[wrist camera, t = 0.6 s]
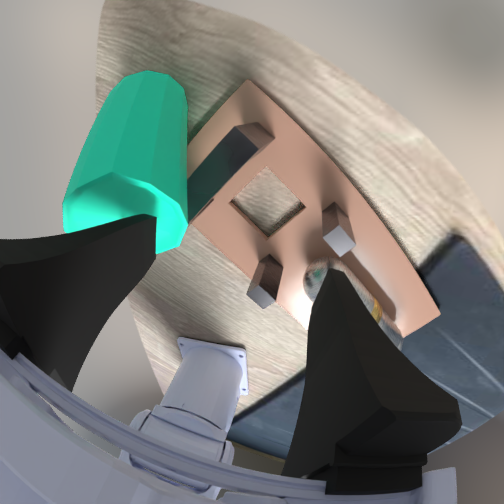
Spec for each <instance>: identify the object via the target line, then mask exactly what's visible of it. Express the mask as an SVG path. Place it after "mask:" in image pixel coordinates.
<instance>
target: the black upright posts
mask: <svg viewBox="0 0 504 504" xmlns="http://www.w3.org/2000/svg"><path fill="white" fill-rule="evenodd" d="M274 139H275V137H274V136H272V135H271V134H270V133H269V132H268V131H267V130H266V129H265V128H264V127H263V126H262V125H261V124H260V123H259V122H254V123H248V124H243V125H237V126H234V127H233V128H232V129H231V130H230V131H229V132H228V134H227V135H226V136H225V137H224V138H223V139H222V140H221V141H220V142H219V143H218V144H217V146H216V147H215V148H214V149H213V150H212V151H211V152H210V153H209V155H208V156H207V157H206V158H205V159H204V160H203V162H202V163H201V164H200V165H199V166H198V167H197V169H196V170H195V171H194V172H193V173H192V174H191V176H190V177H189V178H188V179H187V208H188V226H189V225H190V224H191V223H192V222H193V221H194V220H195V219H196V218H197V217H198V216H199V215H200V214H201V213H202V212H203V211H204V210H205V209H206V208H207V207H208V206H209V205H210V204H211V203H212V202H213V201H214V199H213V197H214V196H215V195H216V194H217V193H218V192H219V191H220V190H221V189H222V188H223V187H224V186H225V185H226V184H227V182H228V181H229V180H230V179H231V178H232V177H233V176H234V175H235V174H236V173H237V172H238V171H239V170H240V169H241V168H242V167H243V166H244V165H245V164H246V163H247V162H248V161H250V160H251V159H252V158H254V157H255V156H256V155H258V154H259V153H260V152H262V151H263V150H264V149H265V148H266V147H267V146H268V145H269V144H270V143H271V142H272V141H273V140H274ZM188 226H187V227H188ZM322 231H323V239H324V240H325V241H326V242H327V243H328V244H329V245H330V246H331V248H332V249H333V250H334V251H335V252H336V253H337V254H338V255H339V257H341V256H342V255H344V254H345V253H346V252H348V251H349V250H351V249H352V248H353V247H355V246H356V242H355V238H354V234H353V231H352V227H351V223H350V220H349V217H348V216H347V215H346V214H345V213H344V211H343V210H342V209H341V208H340V207H339V206H338V204H337V203H336V202H335V201H334V202H333V203H332V204H330V205H329V206H328V207H327V208H326V209H324V210H323V211H322ZM283 268H284V267H283V266H282V265H281V264H280V263H279V262H278V261H277V260H276V259H275V258H274V257H273V256H272V255H271V254H268V255H267V256H266V257H264V258H263V259H262V260H260V261H259V262H258V265H257V268H256V270H255V273H254V275H253V278H252V281H251V283H250V286H249V289H248V291H247V294H246V295H248V296H249V297H250V298H251V299H252V300H253V301H254V302H255V303H257V304H258V305H259V306H260V307H261V308H262V309H264V308H266V307H267V306H269V305H271V304H272V303H274V302H275V301H276V298H277V294H278V290H279V285H280V281H281V277H282V272H283Z"/></svg>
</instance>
